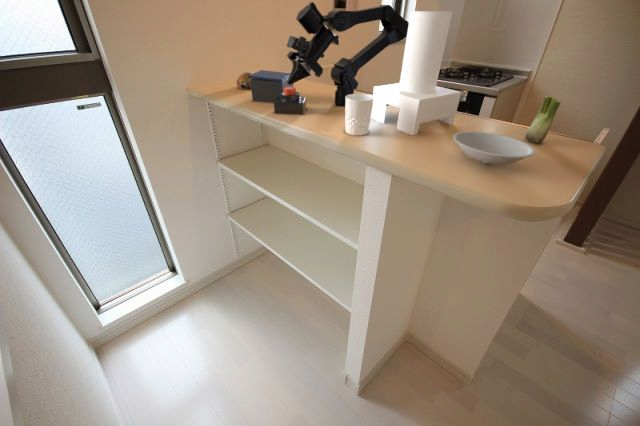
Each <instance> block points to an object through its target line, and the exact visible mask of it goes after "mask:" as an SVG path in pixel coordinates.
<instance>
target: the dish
mask: <svg viewBox="0 0 640 426" xmlns="http://www.w3.org/2000/svg"><path fill="white" fill-rule="evenodd" d="M452 139H453V141H454V142H455V144H457V146H458V147H459V148H460V150H461V151H462V152H463V153H464V154H465V155H467V156H468V157H470V158H471V159H473V160H476V161H479V162H481V163H483V164H484V165H485V164H486V165H488V164H491V165H508V164H513V163H516V162H519V161H522V160H525V159H526V158H530V157H533V156H534V155H535V154H536V149H535V148H534V147H533V146H531V145H530V144H528V143H526V142H524V141H522V140H520V139H517V138H513V137H510V136H506V135H503V134H498V133H492V132H486V131H474V130H472V131H471V130H468V131H466V130H465V131H459V132H456V133H454V134H453V135H452Z"/></svg>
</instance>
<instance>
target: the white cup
mask: <svg viewBox="0 0 640 426" xmlns="http://www.w3.org/2000/svg"><path fill="white" fill-rule="evenodd" d="M373 99H374V98H373V95H370V94H367V93H354V94H350V95H347V96H346V97H345V106H344V123H345V125H344V126H345V127H344V130H345V133H346V134H348V135H351V136H357V137H358V136H364V135H367V134H368V133H369V127H370V124H371V119H370V118H371V112H372V106H373Z"/></svg>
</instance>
